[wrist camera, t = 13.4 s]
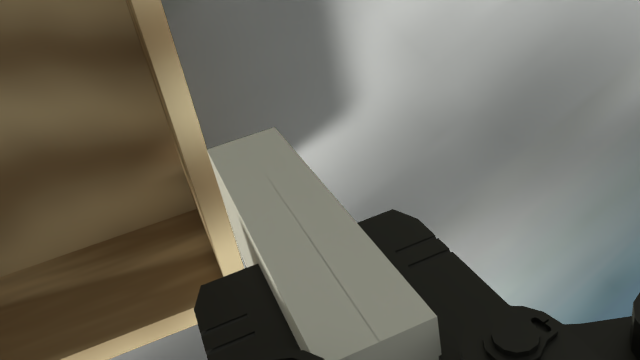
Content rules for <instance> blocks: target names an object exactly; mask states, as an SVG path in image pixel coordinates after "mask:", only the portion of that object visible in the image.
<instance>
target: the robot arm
mask: <svg viewBox="0 0 640 360" xmlns="http://www.w3.org/2000/svg"><path fill="white" fill-rule="evenodd" d="M207 152H208V155H209V158H210V161H211V164H212V167H213V171H214V174H215V177H216V180H217V183H218V186H219V189H220V192H221V195H222V198H223V201H224V205H225V208H226V211H227V214H228V217H229V220H230V223H231V226H232V229H233V232H234V235H235V238H236V242H237V245H238V248H239V251H240V254H241V256H242V258H243V260H244V263H245V265H246V267H247V268H245V269H242V270H240V271H237V272H235V273H232V274H229V275H227V276H224V277H222V278H219V279H216V280H214V281H211V282H209V283H206V284H203V285H201V286H200V290H199V293H198V297H197V300H196V304H195V307H194V312H195V316H196V319H197V323H198V326H199V330H200V333H201V336H202V341H203V344H204V348H205V351H206V354H207V358H208V360H640V293H639V295H638V296H637V298H636V299H635V301H634V302H633V311H632V316H630V317H623V318H617V319H610V320H603V321H597V322H590V323H583V324H567V325H565V324H562V323H560V322H559V321H557V320H556V319H554V318H552V317H551V316H549V315H548V314H546V313H544V312H542V311H538V310H535V309H531V308H528V307H524V306H510V305H509V304H507V303H506V302H505V301H504V300H503V299H502V298H501V297H500V296H499V295H498V294H497V293H496V292H495V291H493V290H492V289H491V288H490V287H489V286H488V285H487V284H486V283H485V282H484V281H483V280H482V279H481V278H480V277H479V276H478V275H477V274H475V273H474V272H473V271H472V270H471V269H470V268H469V267H468V266H467V265H466V264H465V263H464V262H463V261H462V260H461V259H460V258H459V257H457V256H456V255H455V254H454V253H453V252H450V250H449V248H448V247H447V246H446V245H445V244H444V243H443V242H442V241H441V240H439V239H436V237H435V235H434V234H433V233H432V232H431V231H430V230H429V229H428V228H427V227H426V226H425V225H424V224H423V223H421V222H420V221H419V220H418V219H416V218H414V217H411V216H409V215H406V214H404V213H401V212H399V211H396V210H393V209H392V210H390V211H387V212H384V213H382V214H379V215H377V216H374V217H371V218H369V219H366V220H364V221H361V222H358V223H357V222H356V221H355V220H354V219H353V218H352V217H351V215H350V214H349V213H348V212H347V211H346V210H345V208H344V207H343V206H342V205H341V204H340V203H339V201H338V200H337V199H336V198H335V197H334V196H333V194H332V193H331V192H330V191H329V190H328V189H327V188H326V186H325V185H324V184H323V183H322V182H321V181H320V179H319V178H318V177H317V176H316V175H315V174H314V172H313V171H312V170H311V169H310V168H309V167H308V165H307V164H306V163H305V162H304V161H303V160H302V158H301V157H300V156H299V155H298V154H297V153H296V151H295V150H294V149H293V148H292V147H291V146H290V144H289V143H288V142H287V141H286V140H285V139H284V137H283V136H282V135H281V134H280V133H279V132H278V130H277V129H276V128H275V127H273V128H270V129H267V130H264V131H261V132H258V133H255V134H252V135H249V136H246V137H243V138H240V139H237V140H234V141H231V142H228V143H225V144H222V145H219V146H216V147H213V148H210V149H207Z"/></svg>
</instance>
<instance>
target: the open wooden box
mask: <svg viewBox="0 0 640 360" xmlns="http://www.w3.org/2000/svg"><path fill="white" fill-rule="evenodd" d="M242 269H244V266H243V263H242V260H241V257H240V253H239V250H238V247H237V244H236V240H235V237H234V234H233V231H232V228H231V224H230V221H229V218H228V215H227V212H226V208H225V205H224V202H223V199H222V195H221V192H220V189H219V186H218V183H217V180H216V177H215V174H214V171H213V167H212V164H211V161H210V158H209V155H208V152H207V147H206V144H205V141H204V138H203V134H202V131H201V128H200V125H199V122H198V118H197V115H196V112H195V109H194V105H193V102H192V99H191V96H190V93H189V89H188V86H187V83H186V80H185V77H184V73H183V70H182V67H181V64H180V60H179V57H178V54H177V51H176V48H175V44H174V41H173V38H172V35H171V32H170V28H169V25H168V22H167V19H166V16H165V12H164V9H163V6H162V3H161V0H0V360H108V359H111V358H113V357H116V356H118V355H121V354H123V353H126V352H128V351H131V350H134V349H136V348H139V347H141V346H144V345H146V344H149V343H151V342H154V341H156V340H159V339H161V338H164V337H166V336H169V335H171V334H174V333H177V332H179V331H182V330H184V329H187V328H189V327H192V326H194V325H197V324H198V323H197V319H196V316H195V312H194V307H195V304H196V300H197V297H198V293H199V290H200V286H201V285H203V284H206V283H209V282H211V281H214V280H216V279H219V278H222V277H224V276H227V275H229V274H232V273H235V272H237V271H240V270H242Z"/></svg>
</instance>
